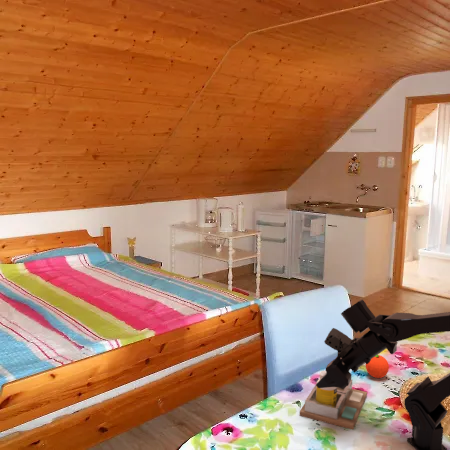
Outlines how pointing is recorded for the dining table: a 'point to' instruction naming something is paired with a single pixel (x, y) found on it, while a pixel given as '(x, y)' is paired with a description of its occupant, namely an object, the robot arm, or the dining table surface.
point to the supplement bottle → (326, 393)
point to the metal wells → (327, 409)
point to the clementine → (377, 367)
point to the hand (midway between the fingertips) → (322, 378)
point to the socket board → (343, 410)
